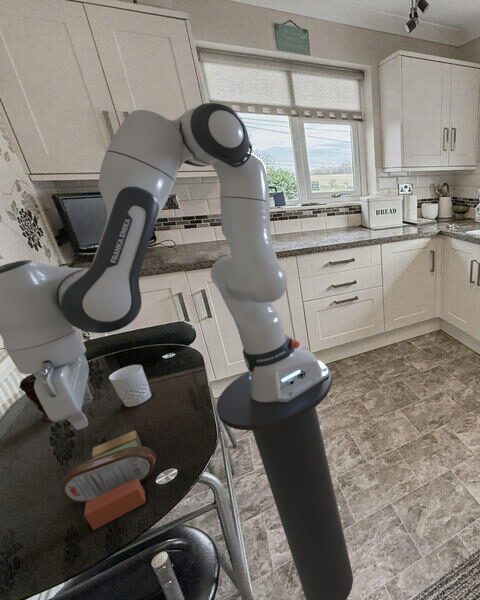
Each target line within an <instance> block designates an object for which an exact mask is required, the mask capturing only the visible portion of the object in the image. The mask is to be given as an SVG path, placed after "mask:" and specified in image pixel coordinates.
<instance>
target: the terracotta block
mask: <svg viewBox="0 0 480 600" xmlns="http://www.w3.org/2000/svg"><path fill="white" fill-rule="evenodd" d="M144 504H146V491H145V489H144V487H143V486H142V483H141V482H140V481H139V479H138V478H135V479H133V480H131V481H129V482H127V483H125V484H123V485H121V486H119V487H117V488H115V489H113V490H111V491H109V492H107V493H104V494H102V495H100V496H98V497H96V498H94V499H92V500H90V501H88V502H85V507H84V515H83V516H84V518H85V519H86V522H88V524H89V525H90V527H91V529H92V531H96V530H97V529H99V528H101V527H103V526H105V525H107V524H108V523H110V522H112V521H114V520H116V519H118V518H120V517H121V516H123V515H125V514H127V513H129V512H131V511H133V510H135V509H137V508H139V507H140V506H143V505H144Z"/></svg>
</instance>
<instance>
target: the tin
mask: <svg viewBox="0 0 480 600" xmlns="http://www.w3.org/2000/svg"><path fill="white" fill-rule="evenodd" d="M156 462H157V455H156V453H155V452H154V450H152V449H151V448H150V447H148V446H147V447H146V446H143V445H141V446H132V447H127V448H124V449H121V450H118V451H116V452H113V453H110V454H107V455H104V456H101V457H98V458H95V459H93V458H91V459H90V460H87V461H83V462H81V463H79V464H76V465H75V466H73V467H72V468H71V469H70V470H68V472H67V473H66V474H65V476H64V478H63V482H62V484H61V489H60V491H61V494H62V496H63V497H64V498H65V499H67V500H68V501H69V502H70V501H71V502H74V503H86V502H88V501H90V500H92V499H94V498H96V497H98V496H100V495H102V494H104V493H107V492H109V491H111V490H113V489H115V488H117V487H119V486H121V485H123V484H125V483H127V482H129V481H131V480H133V479H135V478H138V479H139V481H140V483H141V482H142V483H143V482H144V481H145V480H146V479H147V478H148V477H150V476H151V474H152V473H153V471H154V468H155V464H156Z"/></svg>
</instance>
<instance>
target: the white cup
mask: <svg viewBox="0 0 480 600" xmlns="http://www.w3.org/2000/svg"><path fill="white" fill-rule="evenodd" d="M108 380H109V382H110V383H111V385H112V387H113V389H114V391H115V392H116V394H117V396H118V397H119V399H120V400H121V402H122V403H123V405H124V407H127V408H132V407H136V406H139V405H141V404H143V403H146V402H147V401H149V399H151V397H152V393H151V389H150V385H149V382H148V379H147V376H146V374H145V370H144V367H143V365H141V364H132V365H127V366H124V367H122V368H119V369H118V370H115V371H114V372H112V373H111V374H110V375H109V376H108Z"/></svg>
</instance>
